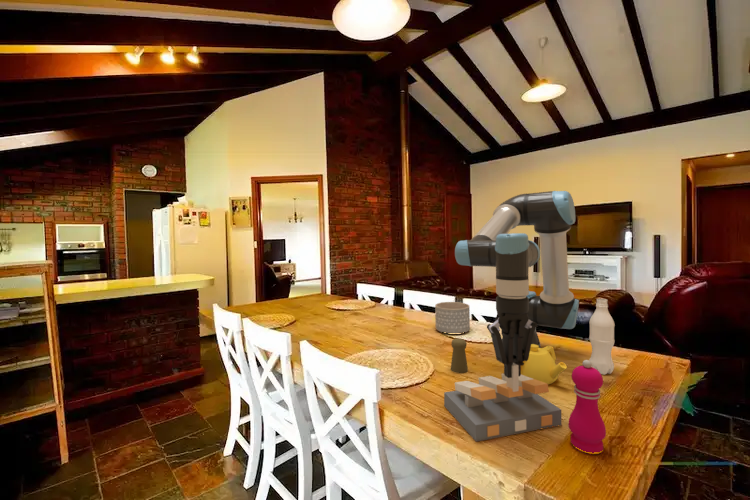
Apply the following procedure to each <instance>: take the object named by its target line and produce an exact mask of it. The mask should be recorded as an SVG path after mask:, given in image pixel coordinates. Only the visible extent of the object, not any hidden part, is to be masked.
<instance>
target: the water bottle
mask: <svg viewBox="0 0 750 500" xmlns="http://www.w3.org/2000/svg"><path fill="white" fill-rule="evenodd" d="M595 307H596V309H595V310H594V312H593V313H592V315H591V317H590V318H589V337H588V339H589V341H590V345H591V354H590V358H589V359H588V360H589V361H590V362H591V363H592V366H591V367H593V368H595V369H597V370H598V371H599V372H600V373H601V375H602V376H604V375H605V376H606V375H607V374H609V375H611V374H612V373H613V371H614V369H615V363H614V361H613V359H612V350H613V347H614V345H615V326H616V325H615V321H614V319H613V317H612V316H611V314H610V311H609V309H608V308H609V304H608V299H607V298H596V304H595Z"/></svg>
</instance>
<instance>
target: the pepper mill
mask: <svg viewBox="0 0 750 500" xmlns="http://www.w3.org/2000/svg"><path fill="white" fill-rule="evenodd" d="M591 366H592V363H591V362H590V361H589V359H584V360H583V361H582V365H579V366H576V367H574V369H573V370H572V373H571V381H572V382H573V384H574V386H573V393H574V395H576V400H575V404H574V408H573V410H572V411H571V413H570V415H569V418H568V428H569V430H570V431H571V433H570V443H572V444H573V445H574V446H575V447H577V448H579V449H581V450H583V451H586V452H592V453H594V452H600V451H602V450H603V451H604V442H603V440H604V439H605V437H606V435H607V432H606V431H607V430H606V429H607V428H606V425H605V422H604V420H603V418H602V415H601V413H600V410H599V403H598V402H599V399H600V398H601V390H600V389H601V388H602V386H603V384H604V377H603V374H601V373H600V372H599V371H598V370H597V369H595V368H593V367H591ZM572 444H571V445H572Z"/></svg>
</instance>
